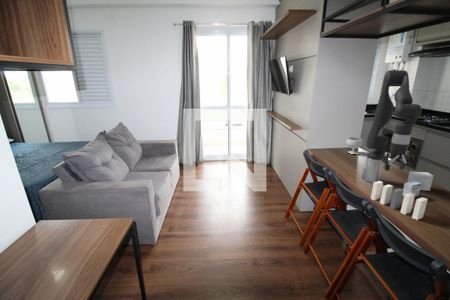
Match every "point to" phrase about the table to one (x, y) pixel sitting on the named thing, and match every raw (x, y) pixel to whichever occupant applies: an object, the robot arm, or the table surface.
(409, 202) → the domino
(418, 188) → the medicine box
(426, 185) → the skincare box
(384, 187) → the domino
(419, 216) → the domino
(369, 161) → the robot arm
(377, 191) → the domino
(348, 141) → the chalice
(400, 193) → the domino
